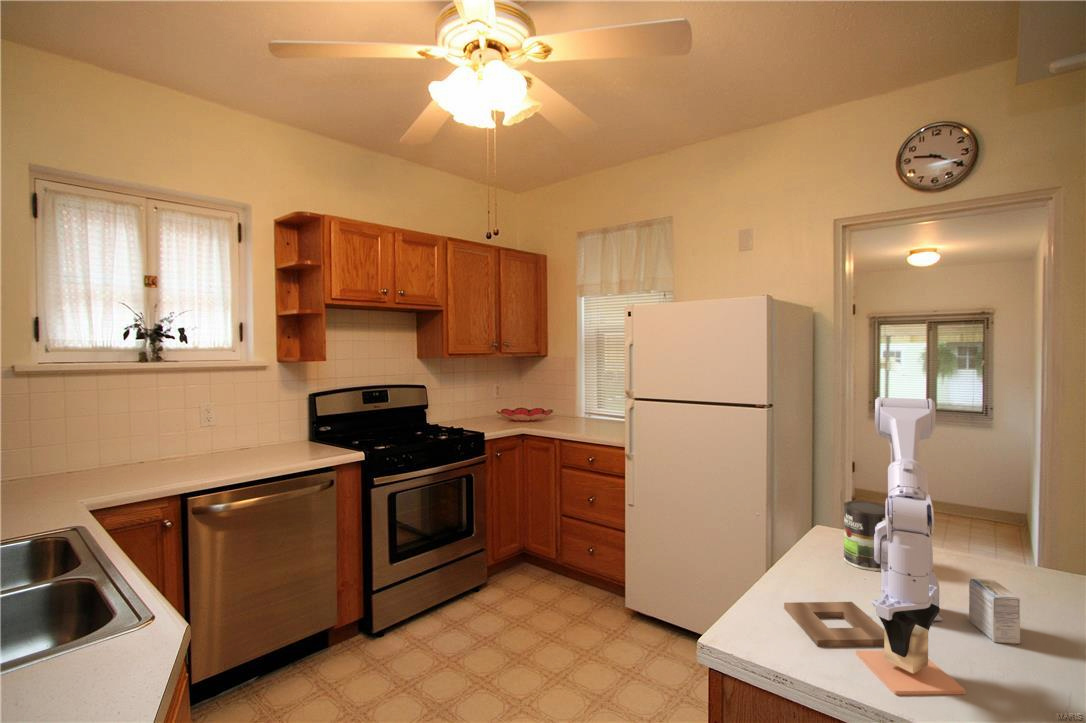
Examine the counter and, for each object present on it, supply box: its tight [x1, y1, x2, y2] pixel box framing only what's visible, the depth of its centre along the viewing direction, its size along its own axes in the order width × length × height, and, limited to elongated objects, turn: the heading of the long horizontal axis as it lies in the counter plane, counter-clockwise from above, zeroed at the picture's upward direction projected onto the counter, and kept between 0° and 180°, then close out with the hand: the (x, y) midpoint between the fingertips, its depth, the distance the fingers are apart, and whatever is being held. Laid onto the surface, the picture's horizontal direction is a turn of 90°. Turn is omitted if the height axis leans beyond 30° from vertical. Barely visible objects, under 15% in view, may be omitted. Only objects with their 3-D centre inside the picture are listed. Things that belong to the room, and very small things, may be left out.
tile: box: [855, 650, 967, 696], centre depth 90 cm, size 11×11×1 cm
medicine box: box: [968, 578, 1021, 645], centre depth 102 cm, size 8×4×9 cm, turn 168°
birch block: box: [883, 625, 929, 673], centre depth 90 cm, size 4×4×6 cm
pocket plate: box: [783, 601, 885, 647], centre depth 106 cm, size 14×14×1 cm
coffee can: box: [843, 500, 885, 572], centre depth 134 cm, size 10×10×14 cm
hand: (907, 649), depth 90 cm, fingers closed on birch block, 4 cm apart
